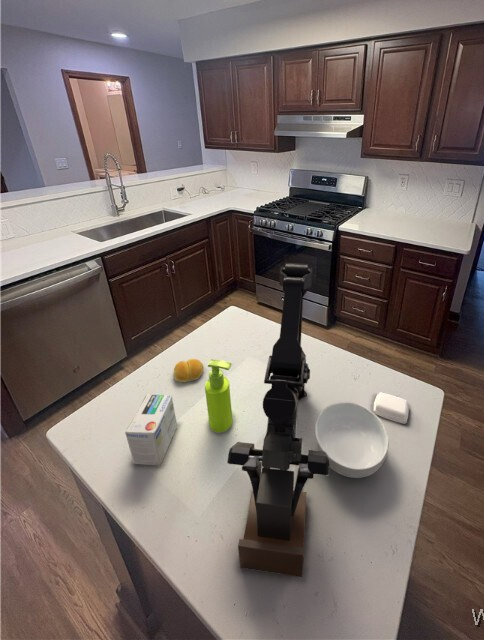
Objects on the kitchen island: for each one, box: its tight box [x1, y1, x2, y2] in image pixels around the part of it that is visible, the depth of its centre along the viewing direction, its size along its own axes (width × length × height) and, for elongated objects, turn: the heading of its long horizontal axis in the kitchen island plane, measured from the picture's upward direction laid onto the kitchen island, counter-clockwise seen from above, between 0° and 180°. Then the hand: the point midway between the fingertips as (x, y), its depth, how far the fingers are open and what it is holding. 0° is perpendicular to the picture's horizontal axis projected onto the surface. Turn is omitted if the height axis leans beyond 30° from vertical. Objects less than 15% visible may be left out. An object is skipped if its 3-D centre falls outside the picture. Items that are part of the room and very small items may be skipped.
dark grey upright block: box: [256, 467, 295, 541], centre depth 57 cm, size 6×6×10 cm
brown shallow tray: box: [237, 490, 307, 578], centre depth 59 cm, size 12×11×7 cm
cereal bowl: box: [314, 401, 390, 479], centre depth 73 cm, size 17×17×7 cm
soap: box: [372, 391, 410, 425], centre depth 85 cm, size 9×7×3 cm
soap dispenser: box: [204, 359, 233, 433], centre depth 78 cm, size 6×7×20 cm
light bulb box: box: [124, 394, 178, 466], centre depth 74 cm, size 11×7×11 cm, turn 178°
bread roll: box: [173, 358, 205, 383], centre depth 97 cm, size 8×9×4 cm
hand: (274, 513), depth 56 cm, fingers closed on dark grey upright block, 6 cm apart
